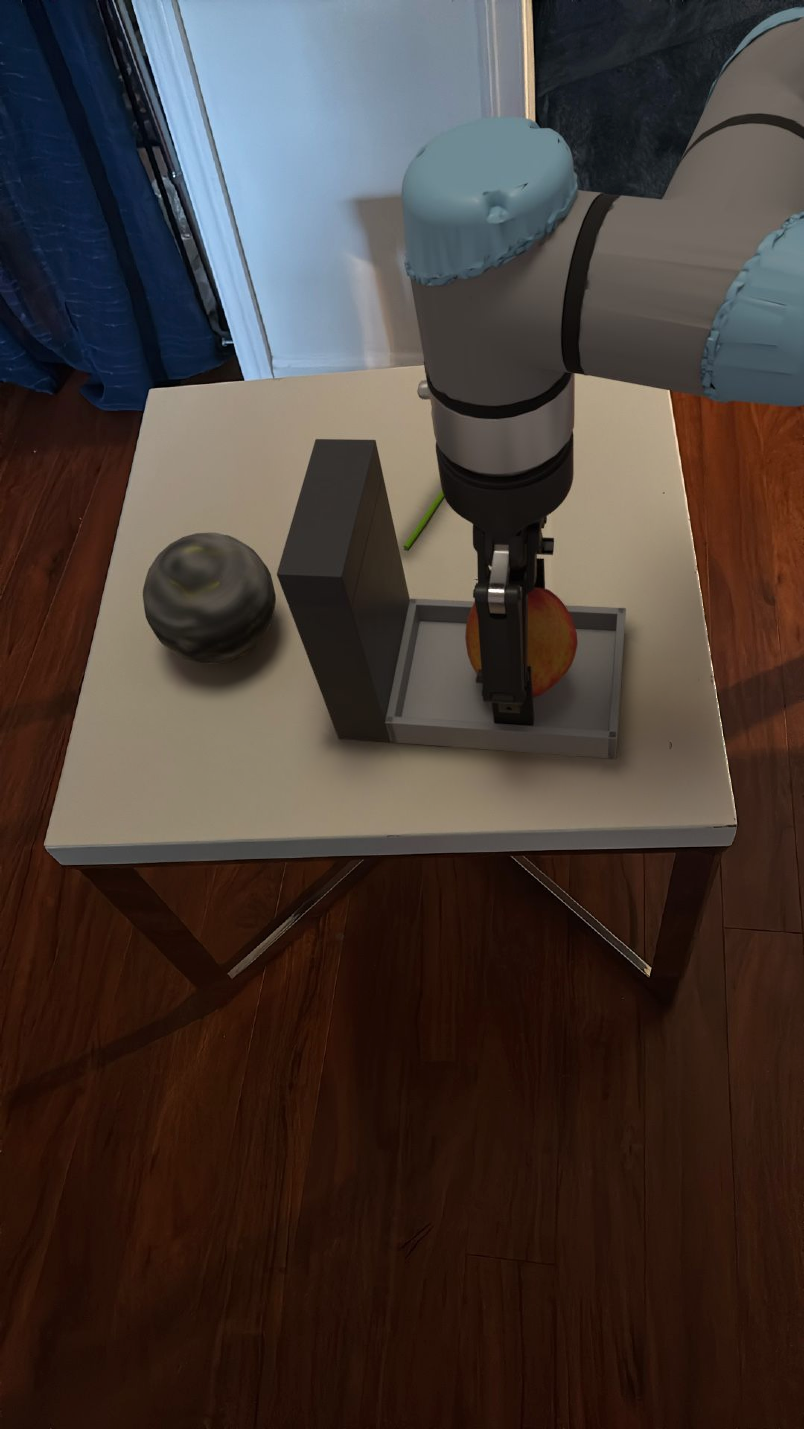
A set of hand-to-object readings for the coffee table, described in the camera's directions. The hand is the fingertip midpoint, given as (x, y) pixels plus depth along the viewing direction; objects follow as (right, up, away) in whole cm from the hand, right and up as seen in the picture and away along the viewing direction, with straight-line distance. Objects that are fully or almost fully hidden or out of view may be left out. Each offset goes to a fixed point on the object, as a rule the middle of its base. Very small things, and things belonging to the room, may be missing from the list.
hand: (521, 668), depth 75 cm
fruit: (0, 0, 0) cm, 0 cm away
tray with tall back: (-3, -1, +3) cm, 4 cm away
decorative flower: (-2, +15, +13) cm, 20 cm away
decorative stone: (-23, +3, +9) cm, 24 cm away
